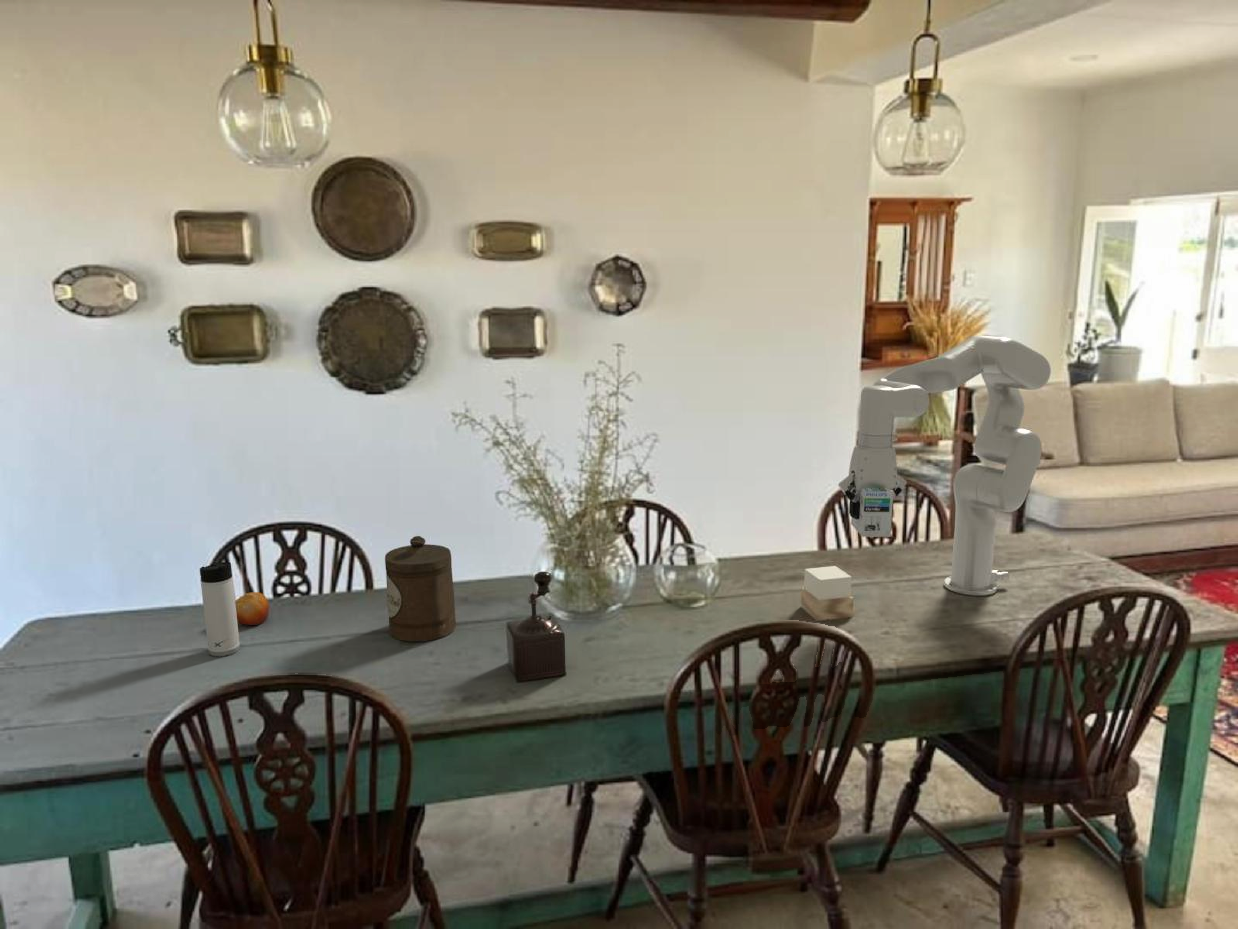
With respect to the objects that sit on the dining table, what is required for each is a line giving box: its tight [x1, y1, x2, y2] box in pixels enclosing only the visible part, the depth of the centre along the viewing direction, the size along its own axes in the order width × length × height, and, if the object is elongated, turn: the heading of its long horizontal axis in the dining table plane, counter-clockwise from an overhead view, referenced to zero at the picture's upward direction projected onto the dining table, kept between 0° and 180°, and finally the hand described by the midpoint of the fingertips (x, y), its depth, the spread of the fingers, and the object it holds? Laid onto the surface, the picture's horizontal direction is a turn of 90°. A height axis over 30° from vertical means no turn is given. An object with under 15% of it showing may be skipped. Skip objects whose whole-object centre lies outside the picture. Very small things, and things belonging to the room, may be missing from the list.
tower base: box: [800, 587, 854, 622], centre depth 221 cm, size 9×9×5 cm
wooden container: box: [384, 535, 457, 643], centre depth 211 cm, size 15×15×22 cm
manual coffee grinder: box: [505, 571, 567, 684], centre depth 193 cm, size 16×11×18 cm
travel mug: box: [199, 561, 241, 657], centre depth 200 cm, size 6×7×20 cm
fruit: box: [235, 591, 270, 626], centre depth 218 cm, size 8×8×8 cm
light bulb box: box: [850, 487, 894, 538], centre depth 213 cm, size 11×7×11 cm, turn 1°
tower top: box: [803, 565, 852, 600], centre depth 220 cm, size 8×8×5 cm
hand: (870, 516), depth 214 cm, fingers closed on light bulb box, 7 cm apart
